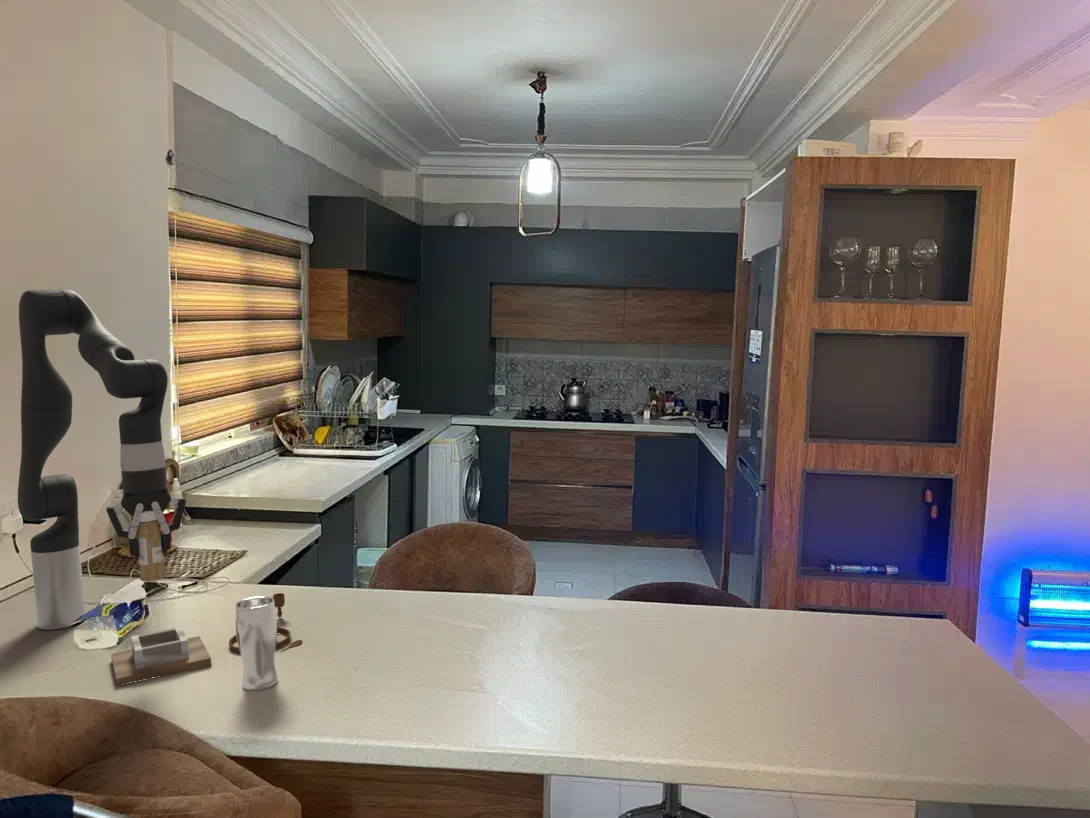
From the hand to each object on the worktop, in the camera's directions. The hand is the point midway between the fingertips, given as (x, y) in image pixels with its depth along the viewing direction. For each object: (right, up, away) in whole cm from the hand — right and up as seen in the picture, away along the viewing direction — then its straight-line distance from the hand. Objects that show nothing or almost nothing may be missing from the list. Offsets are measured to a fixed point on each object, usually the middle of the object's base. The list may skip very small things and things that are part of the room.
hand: (150, 554), depth 155 cm
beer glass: (+24, -22, -9) cm, 33 cm away
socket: (+1, -21, +2) cm, 21 cm away
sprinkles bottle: (0, -5, +1) cm, 5 cm away
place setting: (+19, -20, +15) cm, 31 cm away
